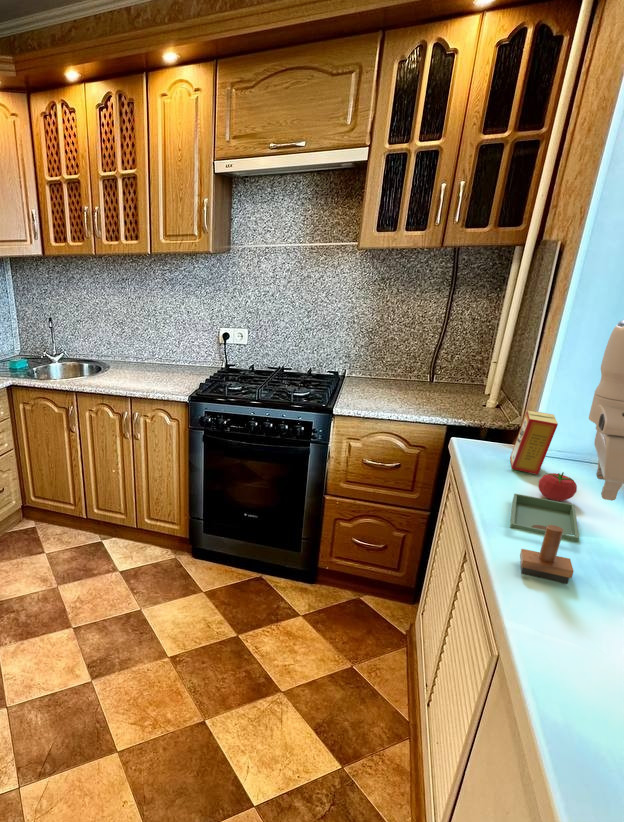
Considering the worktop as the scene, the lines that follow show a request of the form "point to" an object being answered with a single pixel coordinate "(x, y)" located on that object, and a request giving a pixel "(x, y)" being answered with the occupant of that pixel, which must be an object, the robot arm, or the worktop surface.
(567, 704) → the worktop surface
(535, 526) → the brown disc
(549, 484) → the tomato
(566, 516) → the tray
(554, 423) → the baking soda box
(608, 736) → the worktop surface
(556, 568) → the brush
